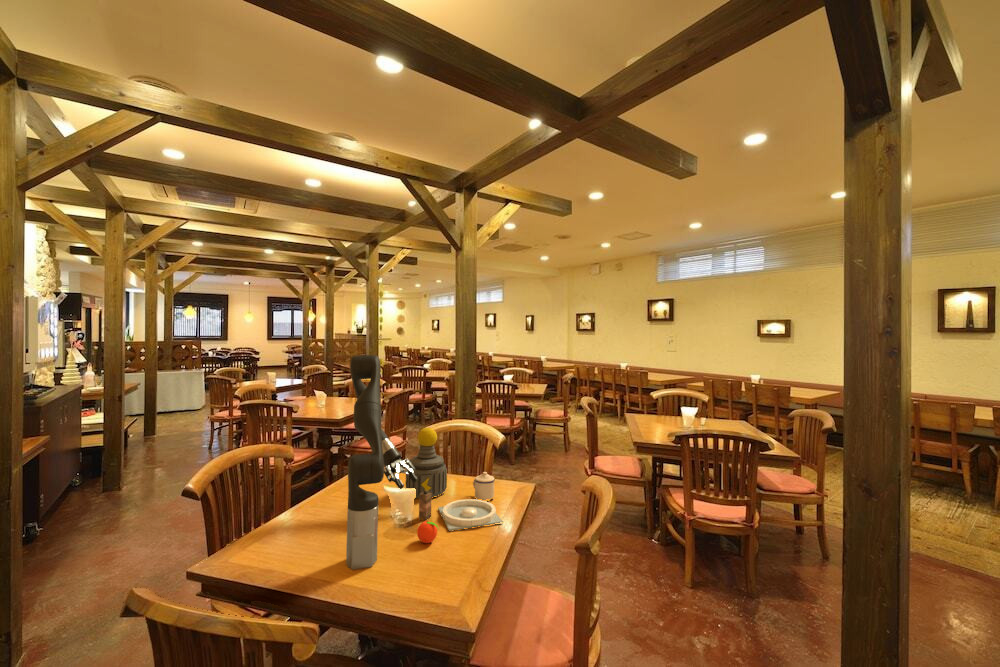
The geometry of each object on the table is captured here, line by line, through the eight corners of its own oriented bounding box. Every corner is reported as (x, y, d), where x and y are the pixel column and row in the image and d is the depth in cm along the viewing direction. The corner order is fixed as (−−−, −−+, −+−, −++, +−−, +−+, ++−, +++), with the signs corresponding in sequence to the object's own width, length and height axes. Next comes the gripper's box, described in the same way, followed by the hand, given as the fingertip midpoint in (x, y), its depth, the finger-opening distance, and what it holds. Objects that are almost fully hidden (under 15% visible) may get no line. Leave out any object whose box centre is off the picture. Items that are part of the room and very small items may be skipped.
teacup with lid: (498, 498, 180) (499, 472, 181) (483, 504, 174) (484, 477, 174) (480, 491, 189) (481, 466, 189) (465, 496, 182) (466, 470, 183)
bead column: (431, 517, 160) (431, 489, 160) (426, 520, 157) (426, 492, 157) (424, 515, 161) (424, 488, 161) (418, 518, 158) (419, 491, 158)
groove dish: (502, 524, 154) (502, 516, 154) (449, 531, 147) (449, 523, 147) (486, 503, 174) (486, 496, 174) (438, 509, 167) (438, 502, 167)
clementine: (443, 539, 142) (443, 518, 142) (434, 548, 135) (435, 527, 135) (422, 536, 144) (422, 516, 144) (413, 545, 137) (413, 524, 137)
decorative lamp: (406, 486, 194) (407, 424, 195) (445, 484, 198) (446, 423, 199) (404, 501, 176) (405, 432, 177) (447, 498, 179) (448, 431, 180)
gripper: (380, 450, 160) (403, 484, 155) (403, 443, 173) (425, 474, 168) (370, 462, 163) (392, 495, 157) (393, 454, 175) (414, 484, 170)
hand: (409, 484), depth 163 cm, fingers open, 8 cm apart
